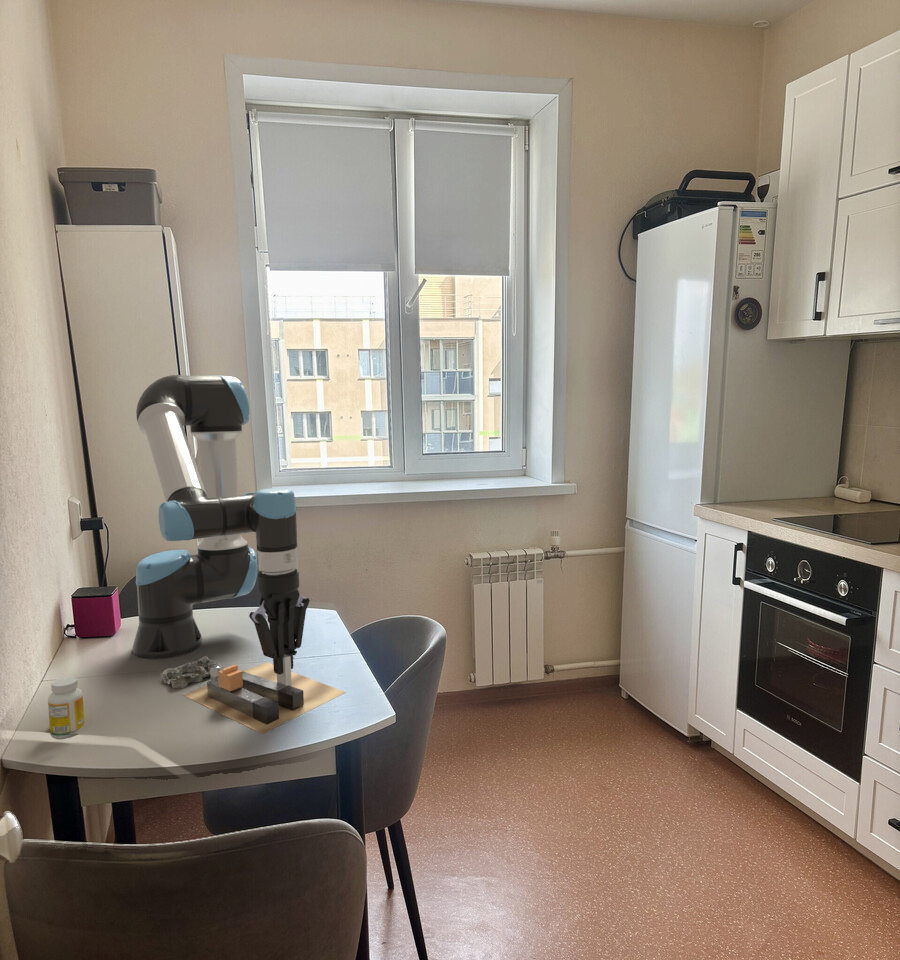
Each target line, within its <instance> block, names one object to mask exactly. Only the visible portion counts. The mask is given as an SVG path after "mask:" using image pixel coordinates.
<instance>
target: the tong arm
mask: <svg viewBox="0 0 900 960" xmlns="http://www.w3.org/2000/svg"><path fill="white" fill-rule="evenodd" d="M241 671H242V679H243V686H242V687H241V688H244V689H246V690H248V691H250V692H253V693H255V694H257V695H260V696H262V697H266V698H269V699H271V700H273V701H276V702H278V704H279V706H282V707H285V708H287V709H290V710H293V711H294V710H295V709H297V708H299V707H301V706H303V705H304V696H303V690H301V689H298V688H295V687H291V686H287V685H284V684H280V683H277V682H274V681H271V680H268V679H265V678H262V677H259V676H256V675H253V674H249V673H246V672H243V670H241Z"/></svg>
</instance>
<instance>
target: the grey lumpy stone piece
mask: <svg viewBox="0 0 900 960" xmlns="http://www.w3.org/2000/svg"><path fill="white" fill-rule="evenodd" d="M217 664H218V662H215V661H214V660H212V659H210V658H209V657H208V656H207V655H204V656H203V657H201V658H199V659H197V660H193V661H192V662H189V661H187V662H186V663H184V664H182V665H178V666H176V667H170V668H167V669H166V668H165V670H164V671H163V672H162V673H161V674H160V677H162V678H163V683H164V684H168V685H170V684H171V688H173V689H177V688H186V687H187V686H188V684H190V683H193V682H196V683H197V682H198V683H200V682H203V678H207V677H211V676H210V667H211V666H213V665H217ZM205 668H207V670H208V671H206V669H205ZM184 673H192V674H193V675H191V674H186V675H185V674H184ZM183 674H184V675H183Z"/></svg>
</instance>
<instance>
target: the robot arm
mask: <svg viewBox="0 0 900 960" xmlns="http://www.w3.org/2000/svg"><path fill="white" fill-rule="evenodd" d="M249 403H250V402H249V398H248V394H247V391H246V389H245V386H244V384H243V383H242V382H241V380H239V379H238V378H237V377H235V376H229V375H228V376H227V375H180V374H172V375H171V374H170V375H166V376H163V377H161V378H158V379H157V380H154V381H153V382H152V383H151V384H149V385H148V387H146V389H145V390H144V391H143V392H142V393H141V395H140V397H139V398H138V402H137V405H136V410H135V411H136V413H135V415H136V417H135V418H136V421H137V424H138V428H139V430H140V432H142V433H143V434H144V435H145V436H146V437H147V441H148V445H149V447H150V451H151V455H152V458H153V461H154V466H155V469H156V471H157V476H158V479H159V482H160V485H161V488H162V492H163V496H164V499H165V501H164V502H162V503H160V504H159V507H158V524H159V530H160V534H161V536H162V538H163V540H165V541H169V542H176V541H177V542H178V541H190V540H191V541H192V540H197V539H202V541H201V542H200V543H199V544H198V545H197V554H193V555H192V554H191V553H190V551H189V550H187V549H172V550H166V551H161V552H157V553H155V554H154V553H153V554H151V555H148V556H147V557H144V558H143V559H141V560H140V561H139V562H138V564H136V571H135V573H136V574H135V585H136V590H137V609H138V611H137V612H138V626H137V631H136V633H135V636H134V640H133V644H132V654H133V656H135V657H137V658H139V659H145V660H164V659H171V658H176V657H180V656H183V655H187V654H189V653H190V654H191V653H192V652H194V651H195V650H198V649H199V648H200V647H201V646H202V645H203V636H202V634H201V632H200V629H199V627H198V624H197V622H196V619H195V618H194V612H193V609H194V608H193V605H197V604H202V603H208V602H214V601H219V600H220V601H221V600H226V599H235V598H238V597H242V596H246V595H248V594H250V593H251V592H252V591H253V589H254V588H255V585H256V581H257V577H258V589H259V592H260V595H261V597H260V600H259V607H257V609H256V610H255V611H251V612H250V613H249V615H248V616H249V617H248V618H249V619H250V620H251V621H252V622H253V624H254V627H255V631H256V634H257V637H258V640H259V644H260V647H261V648H260V649H261V650H262V651H261V652H262V654H263V656H264V657H267V658H269V659H272V663H273V667H274V673H276V674H277V683H280V684H284V685H287V686H291V687H292V677H291V672H292V670H293V669H294V656H296V655H297V653H298V651H297V649H300V648H301V647H302V642H303V636H304V627H305V620H306V613H307V609H308V606H309V604H310V598H309V597H305V596H302V595H301V594H300V591H299V588H300V571H299V569H298V566H299V555H298V554H299V550H298V532H297V531H298V529H297V528H298V527H297V525H298V524H297V505H296V499H295V497H296V496H295V492H294V491H293V490H292V489H290V488H285V487H284V488H283V487H272V488H270V487H269V488H263V489H259V490H257V491H256V492H255V491H254V492H253V491H250V492H246V493H244V494H242V495H240V492H239V473H238V472H239V471H238V458H237V438H238V436H240V435H241V434H242V433H243V429H242V427H243V426H244V425H247V424H248V422H249V421H250V415H251V414H250V413H251V409H250V404H249ZM184 426H185V427H186V426H189V427H190V434H191V435H192V436H193V437H194V438H196V439H197V442H198V455H199V456H198V459H199V460H198V462H199V468H198V466H197V465H198V464H197V463H196V460H195V456H194V454H193V450H192V448H191V444H190V443H189V438H188V437H187V434H186V431H185V427H184ZM246 533H248V534H249V533H255V540H256V551H255V550H254V548H252V547H249V544H248V541H247V540H246V539H245V538H244V537H242V534H246ZM258 571H259V573H258Z"/></svg>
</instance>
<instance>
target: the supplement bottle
mask: <svg viewBox="0 0 900 960" xmlns="http://www.w3.org/2000/svg"><path fill="white" fill-rule="evenodd" d="M78 681H79V680H78V678H77V677H76V676H64V677H61V678H60V677H59V678H57V679H55V680H53V681H52V682H51V684H50V686H51V692H52V693H51V694H50V695H49V696H48V697H47V706H48V707H47V709H48V719H49V720H48V721H49V731H50V733H49V734H50V736H51V738H53V739H55V740H65V739H70V738H73V737H76V736H78V735H79V733H71V732H74V731H77V730H78V729H80V728H82V727H83V726H84V724H85V710H84V696H83V691H82V689H80V688H78V686H79V682H78Z"/></svg>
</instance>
